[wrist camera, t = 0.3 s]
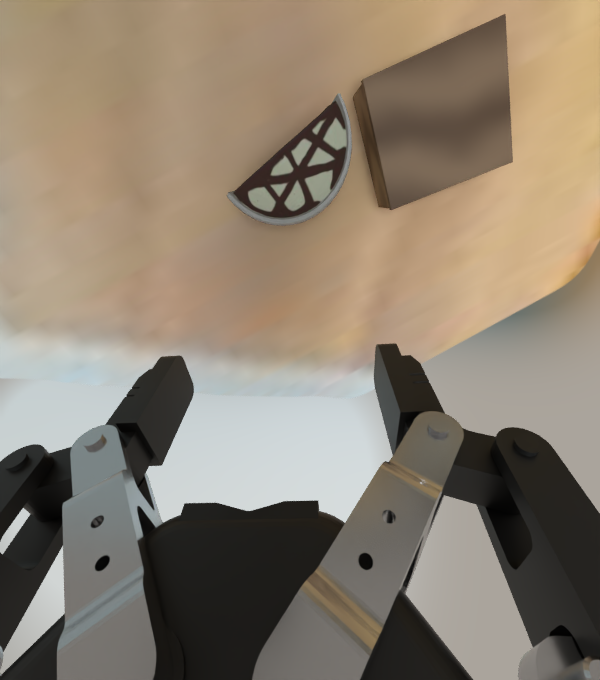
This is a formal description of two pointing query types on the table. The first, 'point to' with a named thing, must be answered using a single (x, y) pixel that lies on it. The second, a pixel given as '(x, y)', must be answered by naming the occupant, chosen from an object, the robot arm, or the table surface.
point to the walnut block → (438, 116)
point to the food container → (301, 172)
